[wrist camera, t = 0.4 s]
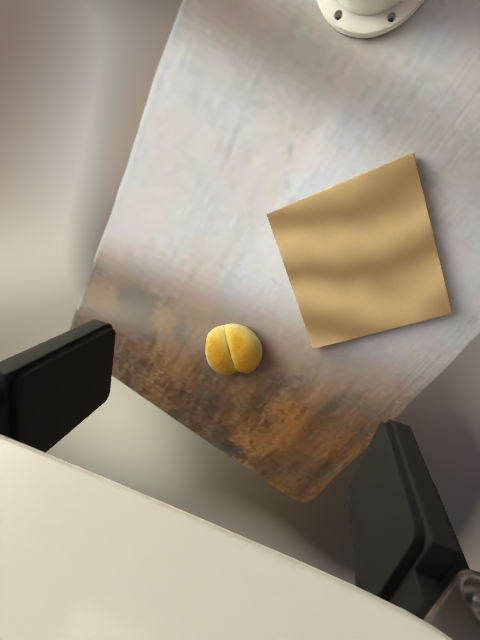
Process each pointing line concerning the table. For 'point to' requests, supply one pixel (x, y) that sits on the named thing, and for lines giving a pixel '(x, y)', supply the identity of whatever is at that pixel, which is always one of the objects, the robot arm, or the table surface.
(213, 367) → the bread roll
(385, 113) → the table surface
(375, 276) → the breadboard
